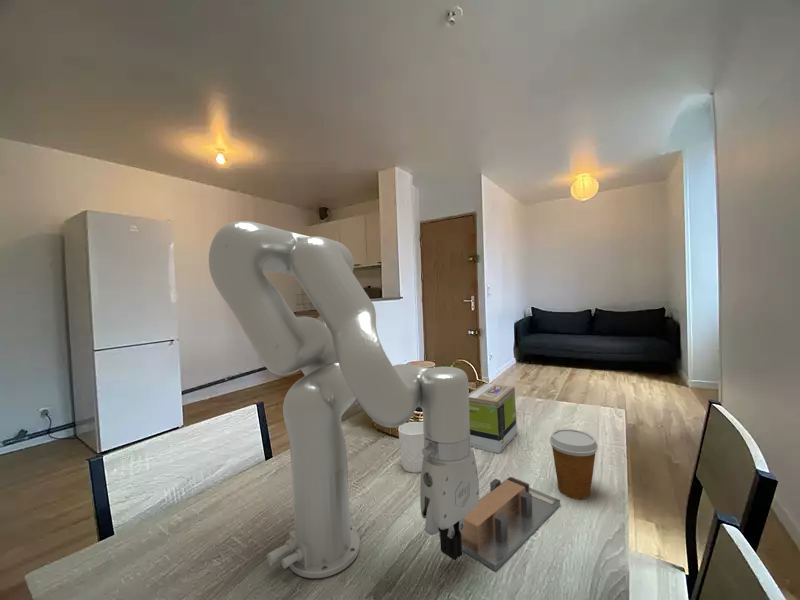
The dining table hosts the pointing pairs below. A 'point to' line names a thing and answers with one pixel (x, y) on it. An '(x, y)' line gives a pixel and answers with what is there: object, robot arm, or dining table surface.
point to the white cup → (411, 446)
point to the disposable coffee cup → (574, 461)
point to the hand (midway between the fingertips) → (451, 553)
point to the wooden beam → (493, 511)
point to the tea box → (492, 417)
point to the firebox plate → (513, 528)
